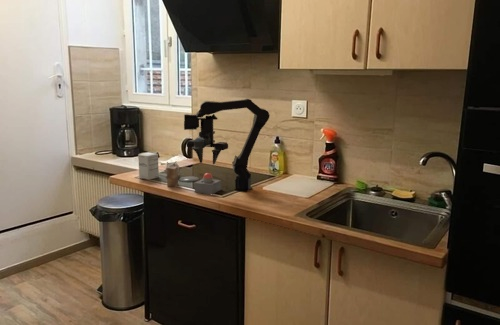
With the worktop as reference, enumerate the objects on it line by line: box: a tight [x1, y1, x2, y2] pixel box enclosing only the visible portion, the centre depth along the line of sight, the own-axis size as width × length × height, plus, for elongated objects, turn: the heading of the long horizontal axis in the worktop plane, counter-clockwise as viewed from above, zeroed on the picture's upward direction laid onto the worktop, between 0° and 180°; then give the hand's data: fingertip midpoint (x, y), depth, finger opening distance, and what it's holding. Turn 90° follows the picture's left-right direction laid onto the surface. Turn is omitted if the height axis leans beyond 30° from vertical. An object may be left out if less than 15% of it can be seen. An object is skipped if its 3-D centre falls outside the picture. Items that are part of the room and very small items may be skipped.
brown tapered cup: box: [166, 166, 179, 188], centre depth 199 cm, size 4×4×9 cm
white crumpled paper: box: [163, 161, 183, 178], centre depth 217 cm, size 9×8×10 cm
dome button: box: [202, 172, 214, 183], centre depth 191 cm, size 4×4×6 cm
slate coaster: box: [178, 175, 200, 183], centre depth 212 cm, size 10×10×1 cm
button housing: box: [193, 178, 222, 195], centre depth 191 cm, size 9×9×4 cm
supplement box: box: [137, 151, 160, 181], centre depth 214 cm, size 7×7×13 cm
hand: (207, 163), depth 189 cm, fingers open, 6 cm apart
